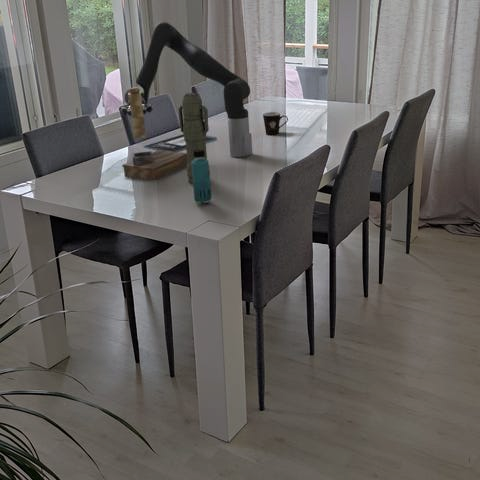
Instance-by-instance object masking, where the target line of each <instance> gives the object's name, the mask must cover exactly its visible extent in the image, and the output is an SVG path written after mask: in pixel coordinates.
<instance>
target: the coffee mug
mask: <svg viewBox="0 0 480 480" xmlns="http://www.w3.org/2000/svg"><path fill="white" fill-rule="evenodd" d="M284 117H285V118H286V121H285V122H284V123H282V124H281V125H280V123H281V120H282V118H284ZM262 119H263V124H264V130H265V134H266V136H276V135H279V134H280V128H282V127H283V126H284V125H286V124H287V122H288V121H289V119H288V116H287V115H281V113H280V112H277V111H274V112H273V111H271V112H264V113H263V114H262Z"/></svg>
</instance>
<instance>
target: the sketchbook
mask: <svg viewBox="0 0 480 480" xmlns="http://www.w3.org/2000/svg"><path fill="white" fill-rule="evenodd" d="M217 139H218V138H217V137H216V136H212V135H208V134H206V144H207V143H211V142H214V141H217ZM142 148H144V149H145V148H146V149H150V150H154V151H157V150H161V151H171V152H182V151H185V150H186V142H185V140H184V134H183V133H182V134H179V135H176V136H172V137H170V138H166V139H164V140H163V139H162V140H159V141H156V142H153V143H150V144H146V145H143V147H142Z"/></svg>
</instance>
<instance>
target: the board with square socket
mask: <svg viewBox="0 0 480 480" xmlns="http://www.w3.org/2000/svg"><path fill="white" fill-rule="evenodd" d="M187 164H188V161H187V152H182V151H179V152H171V151H161V150H154V151H151V150H149V151H139V152H132V160H131V161H129V162H126V163H123V164H122V165H121V166H122V168H123V174H124V177H128V178H136V179H145V180H150V181H155V180H157V179H160V178H162V177H164V176H167V175H170V173H172V172H175V171H177V170H179V169H181V168H184V167H187Z"/></svg>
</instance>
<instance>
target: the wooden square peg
mask: <svg viewBox="0 0 480 480" xmlns="http://www.w3.org/2000/svg"><path fill="white" fill-rule="evenodd" d="M139 91H140V87H137V86H135V87H130V88H129V92H130V93H128V95H129V103H130V110H131V116H130V117H131V123H132V132H133V133H132V134H133V138H134V139H140V138H143V139H144V138H147V132H146V131H147V130H146V125H145V114H144V115H143V106H142V98H141V92H142V91H140V92H139Z"/></svg>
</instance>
